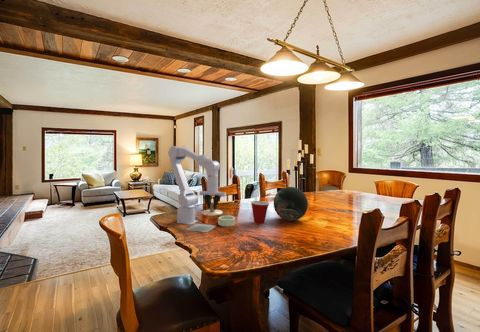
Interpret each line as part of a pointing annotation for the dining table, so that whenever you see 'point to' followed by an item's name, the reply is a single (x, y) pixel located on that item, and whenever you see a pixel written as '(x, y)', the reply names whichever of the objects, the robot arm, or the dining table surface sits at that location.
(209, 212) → the lid
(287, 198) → the decorative sphere
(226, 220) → the bowl
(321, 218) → the dining table surface
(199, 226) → the mat
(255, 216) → the plastic cup
